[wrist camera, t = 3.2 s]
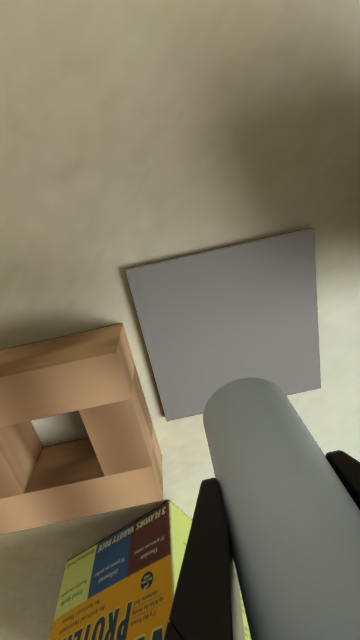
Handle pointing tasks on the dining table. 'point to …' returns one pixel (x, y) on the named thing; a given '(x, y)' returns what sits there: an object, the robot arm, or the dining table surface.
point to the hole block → (82, 455)
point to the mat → (230, 319)
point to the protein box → (126, 582)
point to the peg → (284, 517)
